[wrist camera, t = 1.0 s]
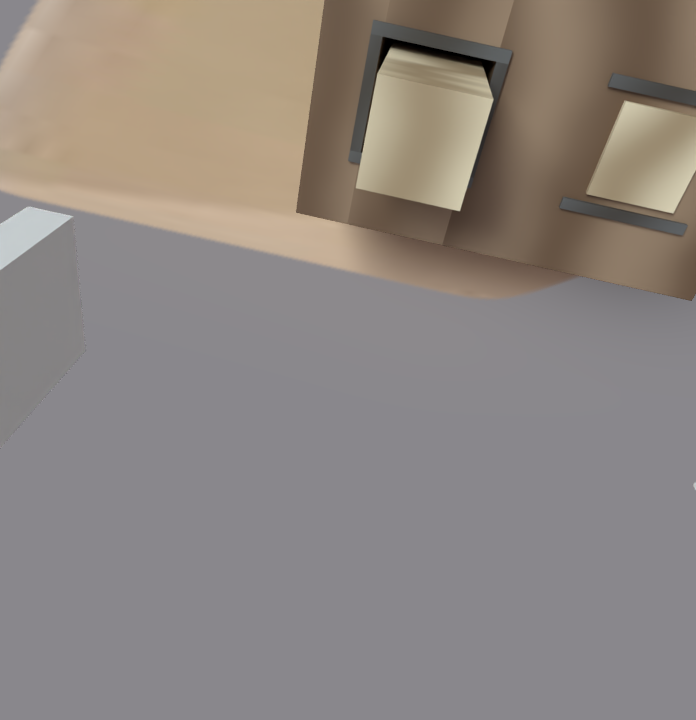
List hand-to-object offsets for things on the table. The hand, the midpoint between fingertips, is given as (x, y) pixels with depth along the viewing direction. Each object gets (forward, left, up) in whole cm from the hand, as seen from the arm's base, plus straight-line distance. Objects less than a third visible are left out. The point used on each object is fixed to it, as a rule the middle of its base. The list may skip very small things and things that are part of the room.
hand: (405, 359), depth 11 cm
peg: (0, 0, -21) cm, 21 cm away
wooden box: (-5, 0, -28) cm, 29 cm away
